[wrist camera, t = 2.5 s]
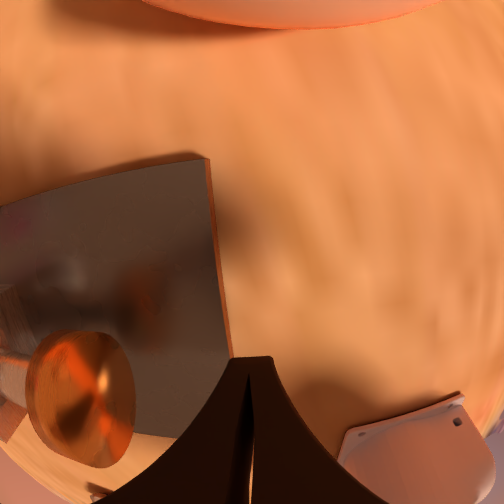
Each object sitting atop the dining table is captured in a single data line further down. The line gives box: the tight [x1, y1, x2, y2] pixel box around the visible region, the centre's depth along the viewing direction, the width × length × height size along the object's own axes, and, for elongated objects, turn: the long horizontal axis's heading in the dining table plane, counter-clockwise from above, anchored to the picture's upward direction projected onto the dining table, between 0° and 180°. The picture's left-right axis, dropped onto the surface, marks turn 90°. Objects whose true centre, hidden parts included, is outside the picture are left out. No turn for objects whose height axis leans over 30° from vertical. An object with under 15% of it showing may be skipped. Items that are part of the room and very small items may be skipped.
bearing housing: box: [0, 159, 234, 444], centre depth 8 cm, size 15×14×7 cm
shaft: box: [0, 329, 136, 468], centre depth 7 cm, size 9×5×5 cm, turn 95°
